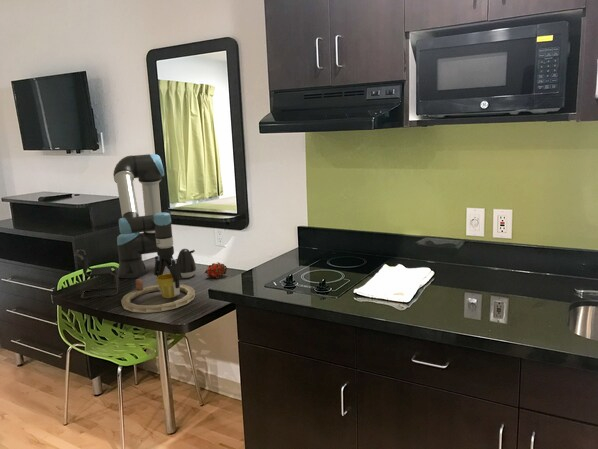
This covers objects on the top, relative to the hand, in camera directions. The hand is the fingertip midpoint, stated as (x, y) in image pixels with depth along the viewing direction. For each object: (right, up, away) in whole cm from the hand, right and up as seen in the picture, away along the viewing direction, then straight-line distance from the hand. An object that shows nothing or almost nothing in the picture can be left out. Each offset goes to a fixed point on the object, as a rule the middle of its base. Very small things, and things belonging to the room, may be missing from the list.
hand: (169, 292), depth 229 cm
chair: (-35, -2, +8) cm, 37 cm away
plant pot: (0, -2, 0) cm, 2 cm away
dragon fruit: (+18, +4, +26) cm, 32 cm away
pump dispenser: (+2, +4, +30) cm, 30 cm away
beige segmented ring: (-4, -3, -4) cm, 6 cm away
